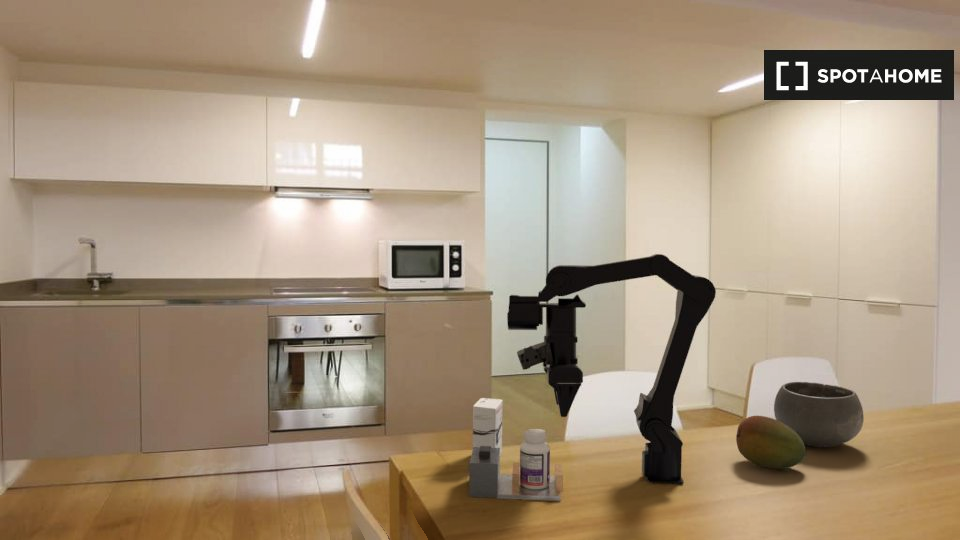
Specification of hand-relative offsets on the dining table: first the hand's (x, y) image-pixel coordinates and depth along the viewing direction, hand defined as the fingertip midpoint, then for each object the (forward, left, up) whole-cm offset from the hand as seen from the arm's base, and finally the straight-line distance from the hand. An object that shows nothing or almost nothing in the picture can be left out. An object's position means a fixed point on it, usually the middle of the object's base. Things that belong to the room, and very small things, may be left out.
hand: (561, 410), depth 128 cm
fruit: (-42, -8, -13) cm, 45 cm away
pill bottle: (+5, +9, -12) cm, 16 cm away
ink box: (+15, -7, -13) cm, 20 cm away
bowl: (-58, -24, -13) cm, 64 cm away
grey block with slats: (+9, +9, -12) cm, 17 cm away
